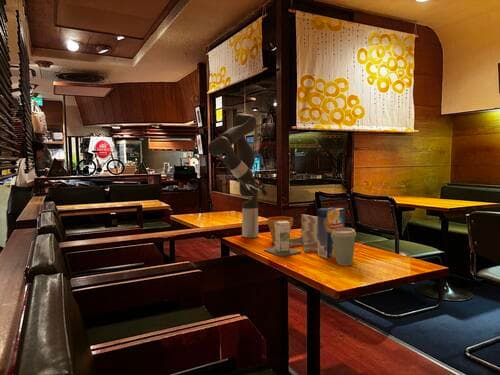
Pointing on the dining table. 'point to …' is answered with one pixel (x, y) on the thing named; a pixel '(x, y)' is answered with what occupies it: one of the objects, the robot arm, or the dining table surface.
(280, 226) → the syrup box
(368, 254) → the dining table surface
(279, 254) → the mat
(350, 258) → the disposable coffee cup
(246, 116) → the robot arm
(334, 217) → the beverage box
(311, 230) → the cubby
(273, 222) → the flower pot
